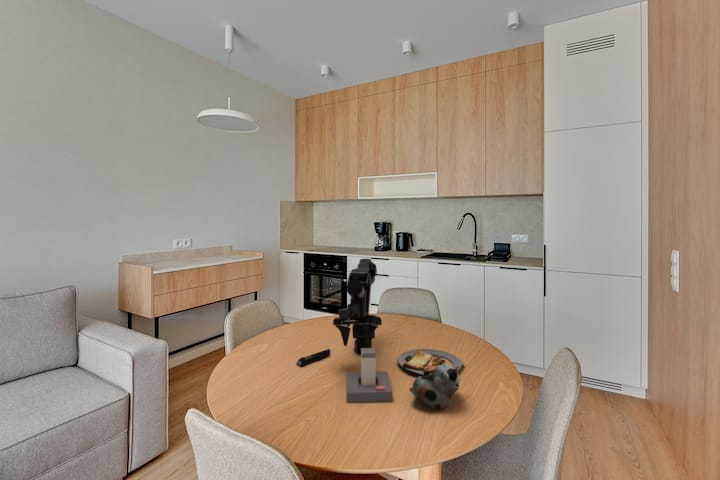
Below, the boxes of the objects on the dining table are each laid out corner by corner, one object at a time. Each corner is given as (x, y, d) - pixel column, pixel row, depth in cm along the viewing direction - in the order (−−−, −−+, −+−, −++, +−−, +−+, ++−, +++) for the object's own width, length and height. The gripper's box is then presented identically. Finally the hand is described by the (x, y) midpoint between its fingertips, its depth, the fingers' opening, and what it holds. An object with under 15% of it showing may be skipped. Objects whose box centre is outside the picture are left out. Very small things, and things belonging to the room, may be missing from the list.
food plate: (449, 386, 114) (449, 376, 113) (387, 371, 126) (387, 361, 126) (469, 362, 135) (469, 353, 135) (414, 351, 147) (414, 342, 147)
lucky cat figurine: (418, 385, 115) (438, 349, 114) (449, 409, 108) (471, 371, 108) (402, 391, 102) (425, 351, 101) (437, 419, 96) (461, 376, 95)
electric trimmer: (332, 357, 139) (332, 349, 139) (301, 368, 128) (301, 360, 128) (326, 354, 142) (326, 347, 142) (295, 365, 131) (295, 357, 131)
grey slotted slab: (346, 380, 118) (346, 370, 118) (387, 380, 119) (387, 369, 118) (346, 402, 104) (346, 390, 104) (392, 401, 105) (392, 390, 104)
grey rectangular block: (361, 385, 113) (361, 348, 113) (374, 384, 113) (374, 348, 113) (361, 391, 109) (361, 353, 108) (375, 391, 109) (375, 353, 108)
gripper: (324, 300, 127) (320, 343, 121) (364, 295, 116) (362, 342, 110) (344, 306, 135) (341, 347, 129) (383, 302, 124) (381, 346, 118)
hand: (355, 345), depth 121 cm, fingers open, 9 cm apart
